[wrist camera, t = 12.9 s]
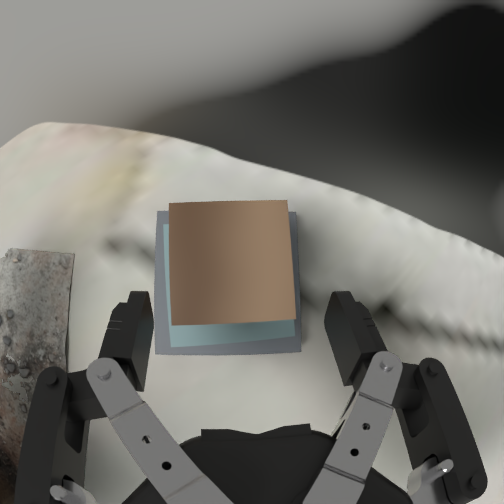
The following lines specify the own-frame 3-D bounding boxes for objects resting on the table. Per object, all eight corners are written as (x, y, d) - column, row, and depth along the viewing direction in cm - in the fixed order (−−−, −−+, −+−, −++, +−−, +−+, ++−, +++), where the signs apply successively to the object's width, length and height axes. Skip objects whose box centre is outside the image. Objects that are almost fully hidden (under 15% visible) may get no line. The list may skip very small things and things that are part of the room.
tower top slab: (275, 227, 27) (282, 216, 24) (286, 333, 25) (295, 335, 22) (168, 234, 26) (163, 224, 23) (176, 343, 24) (171, 347, 21)
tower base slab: (288, 221, 30) (295, 212, 27) (292, 348, 28) (301, 351, 25) (162, 220, 29) (157, 211, 26) (161, 350, 27) (155, 354, 24)
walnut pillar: (256, 244, 23) (287, 200, 13) (260, 313, 22) (296, 318, 13) (187, 247, 22) (169, 203, 13) (190, 316, 22) (171, 325, 12)
